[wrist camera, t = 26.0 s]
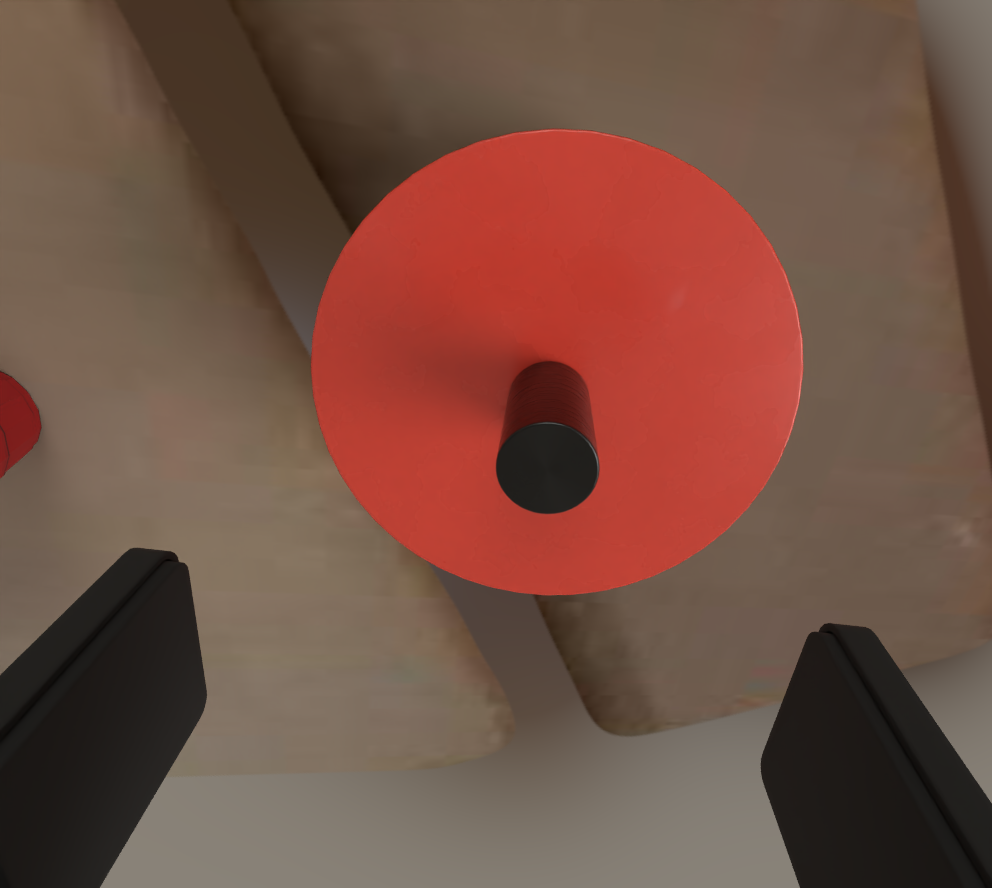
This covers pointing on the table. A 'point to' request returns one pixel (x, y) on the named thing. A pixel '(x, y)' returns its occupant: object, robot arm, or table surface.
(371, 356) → the lid
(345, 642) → the table surface
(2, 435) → the plastic cup
